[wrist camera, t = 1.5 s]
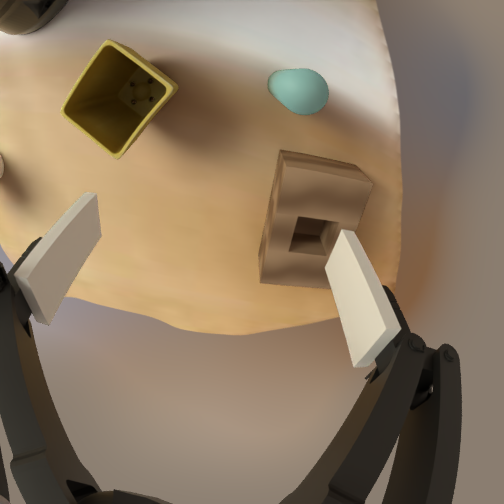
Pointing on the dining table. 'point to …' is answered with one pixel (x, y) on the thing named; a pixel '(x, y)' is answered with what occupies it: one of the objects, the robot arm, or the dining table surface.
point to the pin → (299, 90)
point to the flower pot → (116, 97)
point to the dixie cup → (1, 166)
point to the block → (309, 217)
